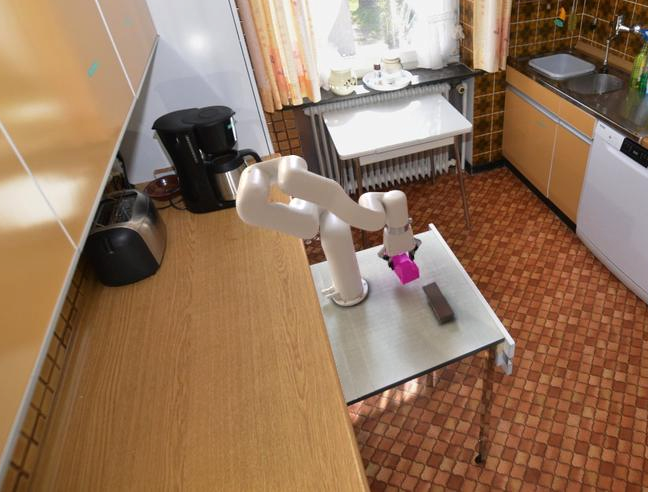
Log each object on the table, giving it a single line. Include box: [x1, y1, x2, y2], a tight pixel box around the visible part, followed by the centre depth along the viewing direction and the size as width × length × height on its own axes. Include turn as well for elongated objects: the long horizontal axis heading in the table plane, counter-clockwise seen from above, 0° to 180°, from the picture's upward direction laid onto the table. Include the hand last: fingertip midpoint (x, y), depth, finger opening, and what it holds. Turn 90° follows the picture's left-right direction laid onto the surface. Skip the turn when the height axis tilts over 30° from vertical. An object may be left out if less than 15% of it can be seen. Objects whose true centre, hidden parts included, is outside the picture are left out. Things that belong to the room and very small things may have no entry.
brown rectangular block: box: [421, 281, 455, 324], centre depth 147 cm, size 15×5×3 cm, turn 23°
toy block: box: [382, 243, 421, 286], centre depth 153 cm, size 15×6×8 cm, turn 29°
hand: (401, 264), depth 154 cm, fingers closed on toy block, 6 cm apart
